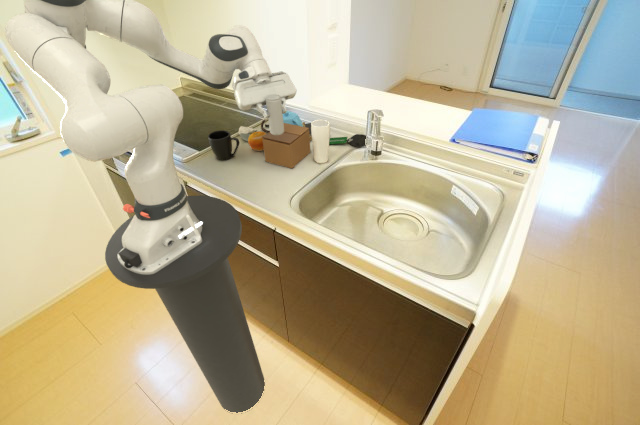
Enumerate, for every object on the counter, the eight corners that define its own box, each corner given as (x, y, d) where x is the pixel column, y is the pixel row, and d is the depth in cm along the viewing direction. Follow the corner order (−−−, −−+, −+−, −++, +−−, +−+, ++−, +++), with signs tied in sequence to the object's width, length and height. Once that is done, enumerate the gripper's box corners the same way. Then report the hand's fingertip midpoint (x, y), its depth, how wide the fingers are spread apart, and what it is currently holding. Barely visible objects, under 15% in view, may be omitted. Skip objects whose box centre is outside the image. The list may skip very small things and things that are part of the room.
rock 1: (237, 135, 135) (246, 130, 137) (238, 139, 136) (247, 134, 139) (251, 142, 130) (260, 137, 133) (252, 146, 132) (260, 141, 135)
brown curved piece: (259, 137, 144) (280, 140, 142) (256, 128, 139) (278, 131, 137) (269, 117, 151) (289, 120, 149) (267, 108, 146) (287, 110, 144)
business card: (346, 143, 128) (347, 137, 132) (345, 142, 128) (347, 136, 132) (325, 144, 131) (327, 138, 134) (325, 144, 131) (327, 138, 134)
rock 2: (358, 140, 135) (360, 151, 134) (345, 140, 131) (347, 151, 130) (371, 131, 127) (374, 143, 126) (358, 130, 123) (360, 142, 123)
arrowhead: (259, 133, 140) (250, 127, 147) (258, 129, 139) (249, 122, 145) (242, 138, 137) (234, 131, 143) (241, 133, 135) (232, 127, 142)
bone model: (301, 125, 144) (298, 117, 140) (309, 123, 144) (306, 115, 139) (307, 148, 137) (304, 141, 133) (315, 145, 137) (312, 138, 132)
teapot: (281, 101, 140) (309, 111, 130) (283, 124, 147) (310, 135, 137) (258, 109, 133) (287, 121, 123) (262, 133, 140) (289, 145, 130)
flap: (289, 144, 110) (289, 143, 110) (262, 137, 115) (262, 136, 114) (299, 136, 115) (299, 135, 115) (272, 130, 120) (272, 129, 119)
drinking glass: (309, 163, 119) (307, 125, 110) (316, 155, 124) (315, 118, 115) (326, 166, 117) (326, 128, 108) (332, 157, 122) (332, 120, 113)
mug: (236, 165, 119) (230, 142, 113) (209, 160, 123) (203, 137, 117) (247, 155, 125) (242, 132, 119) (221, 150, 128) (216, 128, 123)
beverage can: (287, 133, 105) (283, 97, 98) (274, 137, 103) (269, 100, 96) (280, 128, 108) (276, 93, 101) (267, 132, 106) (262, 96, 99)
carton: (292, 168, 116) (289, 143, 110) (265, 161, 121) (261, 136, 114) (310, 152, 126) (309, 127, 120) (285, 146, 130) (282, 122, 124)
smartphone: (329, 136, 136) (318, 123, 148) (329, 134, 136) (318, 121, 147) (313, 139, 135) (303, 125, 146) (312, 137, 134) (303, 124, 145)
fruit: (251, 134, 132) (252, 123, 124) (271, 141, 133) (273, 130, 126) (245, 150, 128) (245, 140, 121) (265, 157, 130) (267, 148, 122)
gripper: (283, 76, 109) (300, 112, 109) (227, 87, 100) (245, 127, 100) (288, 64, 103) (306, 103, 103) (230, 76, 94) (249, 118, 94)
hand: (275, 115), depth 101 cm, fingers closed on beverage can, 5 cm apart
